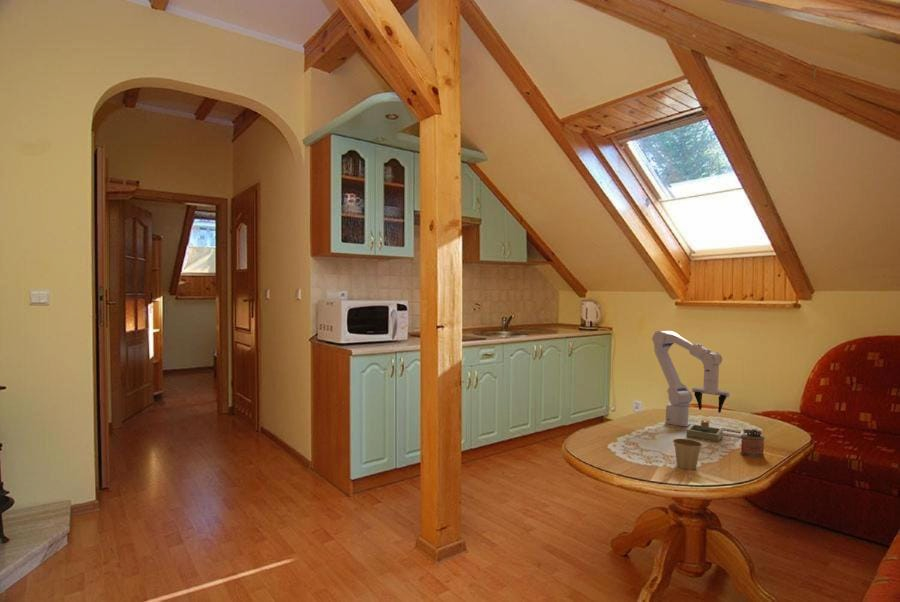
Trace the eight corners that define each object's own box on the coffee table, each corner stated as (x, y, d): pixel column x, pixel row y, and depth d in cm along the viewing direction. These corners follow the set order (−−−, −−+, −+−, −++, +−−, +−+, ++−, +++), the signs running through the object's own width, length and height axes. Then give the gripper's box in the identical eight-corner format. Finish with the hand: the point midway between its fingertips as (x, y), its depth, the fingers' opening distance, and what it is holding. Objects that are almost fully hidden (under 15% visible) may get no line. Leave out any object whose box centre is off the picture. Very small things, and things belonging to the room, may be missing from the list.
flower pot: (694, 462, 182) (695, 438, 182) (706, 472, 173) (707, 446, 173) (667, 461, 183) (668, 437, 182) (678, 471, 173) (679, 445, 173)
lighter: (761, 454, 193) (762, 428, 193) (765, 457, 190) (766, 431, 190) (738, 453, 194) (739, 427, 194) (742, 456, 191) (743, 429, 191)
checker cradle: (715, 433, 222) (715, 431, 222) (719, 428, 230) (719, 426, 230) (741, 437, 216) (741, 435, 216) (744, 432, 224) (744, 430, 224)
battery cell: (699, 435, 217) (700, 421, 217) (701, 433, 219) (702, 419, 219) (707, 436, 215) (707, 422, 215) (709, 435, 217) (709, 421, 217)
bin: (686, 436, 216) (686, 429, 216) (692, 430, 225) (692, 424, 225) (718, 442, 209) (718, 434, 209) (722, 435, 218) (722, 428, 218)
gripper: (691, 378, 225) (689, 409, 225) (728, 383, 216) (726, 415, 216) (694, 376, 230) (693, 406, 231) (730, 381, 222) (729, 412, 222)
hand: (709, 410), depth 224 cm, fingers open, 7 cm apart
